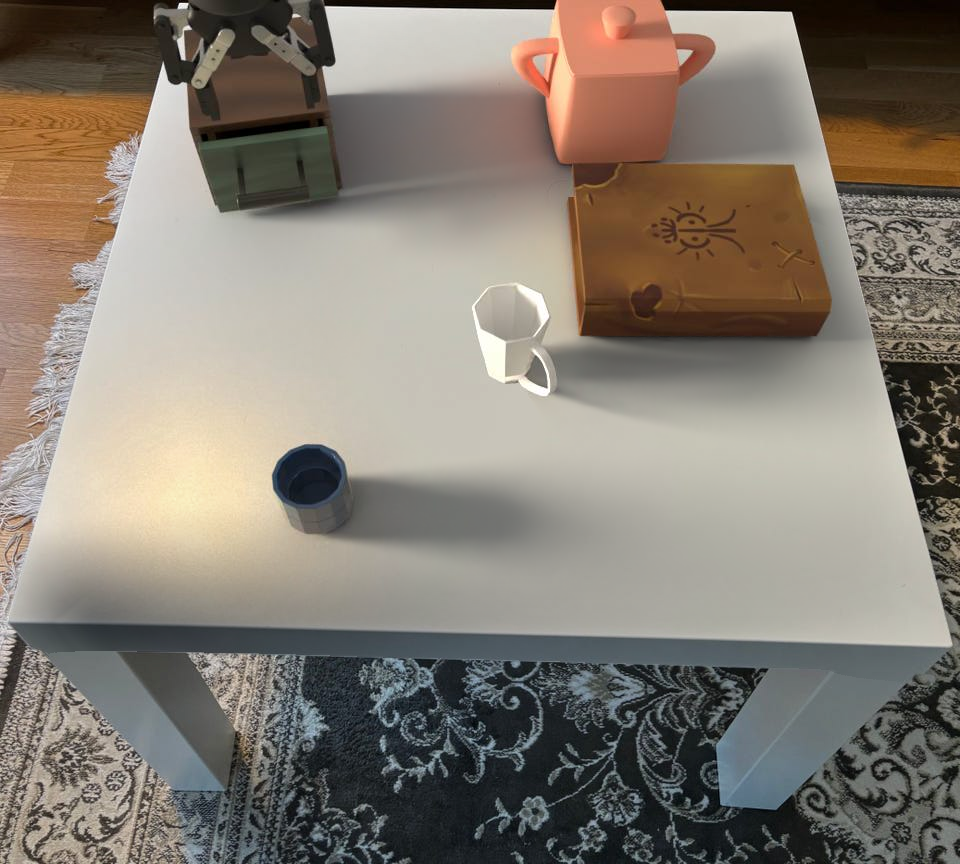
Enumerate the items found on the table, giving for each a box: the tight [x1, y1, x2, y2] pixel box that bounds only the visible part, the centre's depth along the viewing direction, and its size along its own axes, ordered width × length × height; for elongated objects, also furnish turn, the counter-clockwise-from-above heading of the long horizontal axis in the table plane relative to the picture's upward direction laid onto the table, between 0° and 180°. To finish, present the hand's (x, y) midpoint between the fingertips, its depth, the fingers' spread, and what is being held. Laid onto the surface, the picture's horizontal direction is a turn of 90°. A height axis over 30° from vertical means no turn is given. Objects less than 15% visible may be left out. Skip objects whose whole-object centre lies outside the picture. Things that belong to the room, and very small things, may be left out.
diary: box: [566, 162, 833, 337], centre depth 89 cm, size 23×19×6 cm
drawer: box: [199, 119, 339, 214], centre depth 93 cm, size 20×13×8 cm, turn 12°
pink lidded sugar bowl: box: [510, 0, 717, 165], centre depth 98 cm, size 20×22×14 cm
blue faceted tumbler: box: [271, 443, 354, 535], centre depth 75 cm, size 6×6×6 cm
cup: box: [471, 281, 558, 397], centre depth 81 cm, size 7×10×8 cm
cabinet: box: [183, 16, 344, 207], centre depth 96 cm, size 16×14×10 cm
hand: (263, 109), depth 81 cm, fingers open, 8 cm apart
